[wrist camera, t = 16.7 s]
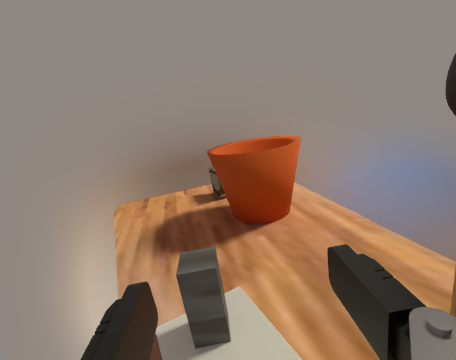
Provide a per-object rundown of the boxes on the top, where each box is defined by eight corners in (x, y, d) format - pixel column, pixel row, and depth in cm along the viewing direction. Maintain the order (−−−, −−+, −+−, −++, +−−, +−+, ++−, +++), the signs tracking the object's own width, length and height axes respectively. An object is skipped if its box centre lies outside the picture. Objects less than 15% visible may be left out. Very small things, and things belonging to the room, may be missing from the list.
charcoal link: (196, 318, 34) (180, 252, 31) (228, 312, 35) (214, 246, 32) (195, 348, 30) (176, 275, 27) (230, 341, 30) (216, 267, 27)
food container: (238, 196, 85) (234, 169, 82) (222, 200, 83) (217, 173, 81) (227, 188, 96) (223, 164, 94) (212, 192, 95) (208, 167, 92)
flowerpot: (215, 205, 80) (204, 147, 75) (285, 190, 83) (279, 133, 78) (226, 241, 56) (211, 160, 51) (324, 219, 59) (319, 139, 54)
